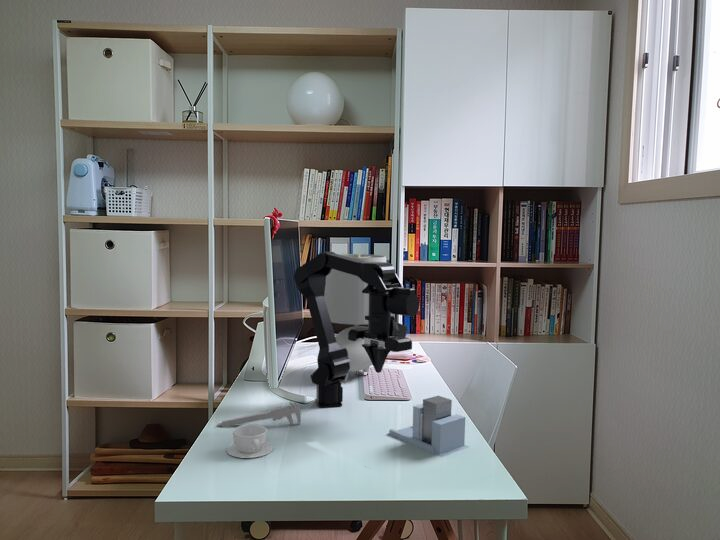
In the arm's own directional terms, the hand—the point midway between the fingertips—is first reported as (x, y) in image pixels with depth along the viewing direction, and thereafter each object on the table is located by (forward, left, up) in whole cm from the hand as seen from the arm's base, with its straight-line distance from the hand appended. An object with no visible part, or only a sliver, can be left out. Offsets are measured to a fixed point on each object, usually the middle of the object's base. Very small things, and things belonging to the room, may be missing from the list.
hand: (378, 372), depth 151 cm
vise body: (+6, -20, -12) cm, 24 cm away
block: (+7, -22, -11) cm, 26 cm away
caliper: (-30, +1, -12) cm, 33 cm away
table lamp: (+4, +40, -12) cm, 42 cm away
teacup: (-34, -14, -12) cm, 39 cm away
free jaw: (+6, -20, -11) cm, 23 cm away
